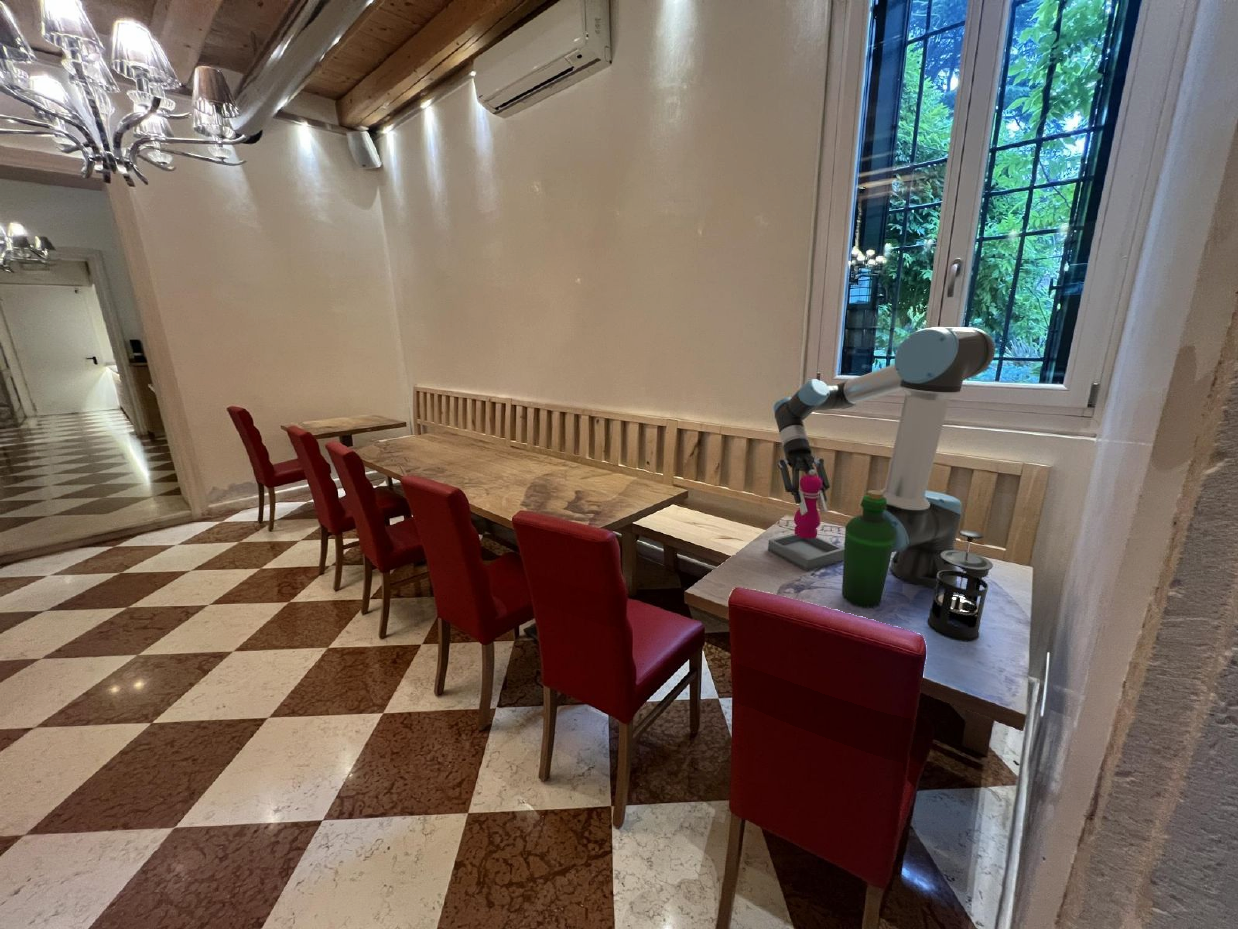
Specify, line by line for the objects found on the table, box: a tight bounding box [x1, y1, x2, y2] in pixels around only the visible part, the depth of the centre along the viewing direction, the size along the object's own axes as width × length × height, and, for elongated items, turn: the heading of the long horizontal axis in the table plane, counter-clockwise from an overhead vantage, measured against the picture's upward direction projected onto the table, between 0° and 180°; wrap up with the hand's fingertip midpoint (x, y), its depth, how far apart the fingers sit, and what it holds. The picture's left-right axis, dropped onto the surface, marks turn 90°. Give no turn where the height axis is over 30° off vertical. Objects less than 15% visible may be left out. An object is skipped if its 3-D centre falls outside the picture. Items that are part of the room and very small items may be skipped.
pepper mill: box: [793, 469, 822, 539], centre depth 134 cm, size 7×7×20 cm
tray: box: [767, 533, 844, 572], centre depth 137 cm, size 15×15×4 cm
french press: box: [926, 529, 994, 642], centre depth 99 cm, size 12×9×23 cm
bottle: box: [841, 489, 896, 609], centre depth 110 cm, size 11×11×28 cm
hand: (814, 512), depth 131 cm, fingers closed on pepper mill, 5 cm apart
